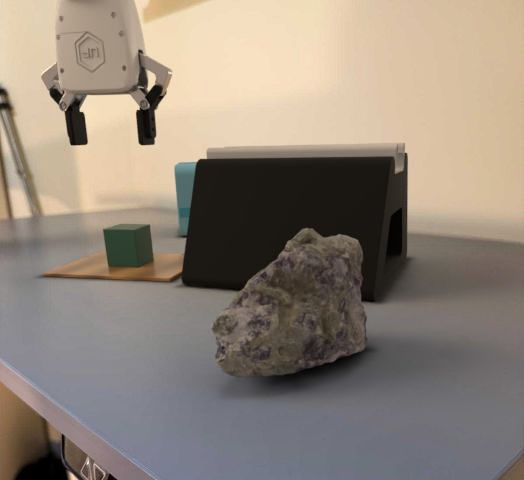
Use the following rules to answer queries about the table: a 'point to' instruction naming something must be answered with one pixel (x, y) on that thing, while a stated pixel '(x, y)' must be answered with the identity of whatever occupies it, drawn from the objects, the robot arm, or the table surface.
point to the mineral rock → (296, 310)
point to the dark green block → (128, 245)
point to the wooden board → (122, 268)
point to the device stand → (295, 208)
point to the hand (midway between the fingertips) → (112, 145)
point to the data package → (184, 192)
